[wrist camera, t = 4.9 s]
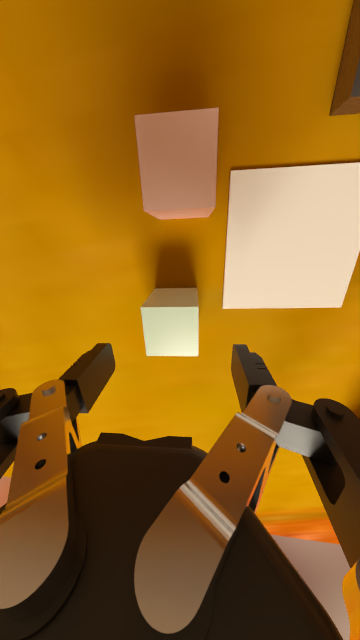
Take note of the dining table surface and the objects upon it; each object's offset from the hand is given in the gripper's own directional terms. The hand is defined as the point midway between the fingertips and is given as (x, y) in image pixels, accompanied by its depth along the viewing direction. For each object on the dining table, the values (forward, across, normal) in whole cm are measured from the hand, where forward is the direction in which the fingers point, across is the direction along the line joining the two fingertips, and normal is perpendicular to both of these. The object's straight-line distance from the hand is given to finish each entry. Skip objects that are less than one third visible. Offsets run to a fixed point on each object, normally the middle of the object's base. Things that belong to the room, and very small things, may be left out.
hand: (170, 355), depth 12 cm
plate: (+9, -10, -6) cm, 15 cm away
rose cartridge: (+9, -1, -11) cm, 14 cm away
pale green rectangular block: (+9, 0, 0) cm, 9 cm away
